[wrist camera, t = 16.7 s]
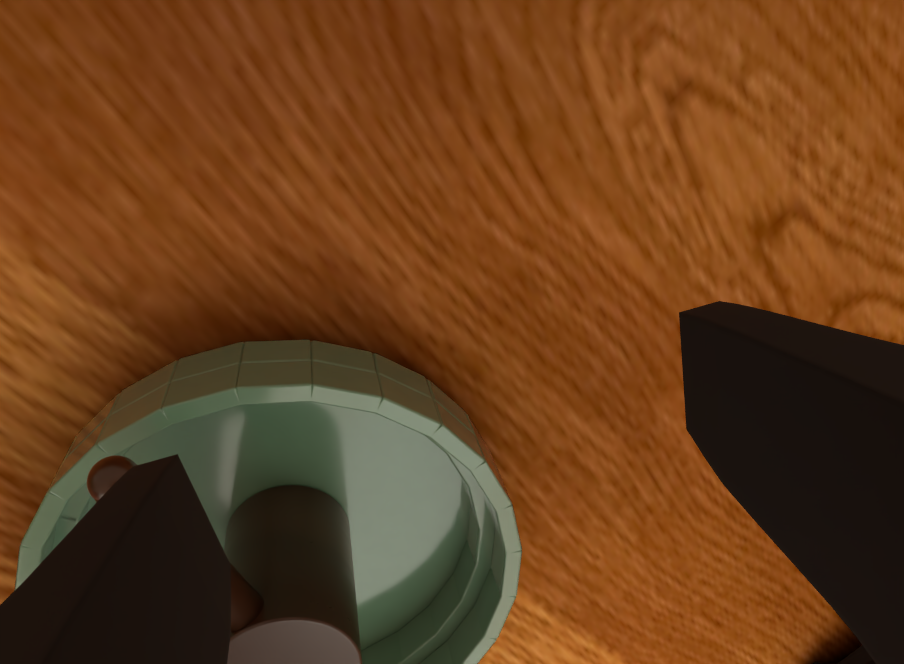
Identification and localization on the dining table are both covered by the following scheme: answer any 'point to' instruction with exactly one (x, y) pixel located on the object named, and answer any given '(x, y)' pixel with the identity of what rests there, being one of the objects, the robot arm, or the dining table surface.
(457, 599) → the green bowl
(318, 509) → the scoop
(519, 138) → the dining table surface
